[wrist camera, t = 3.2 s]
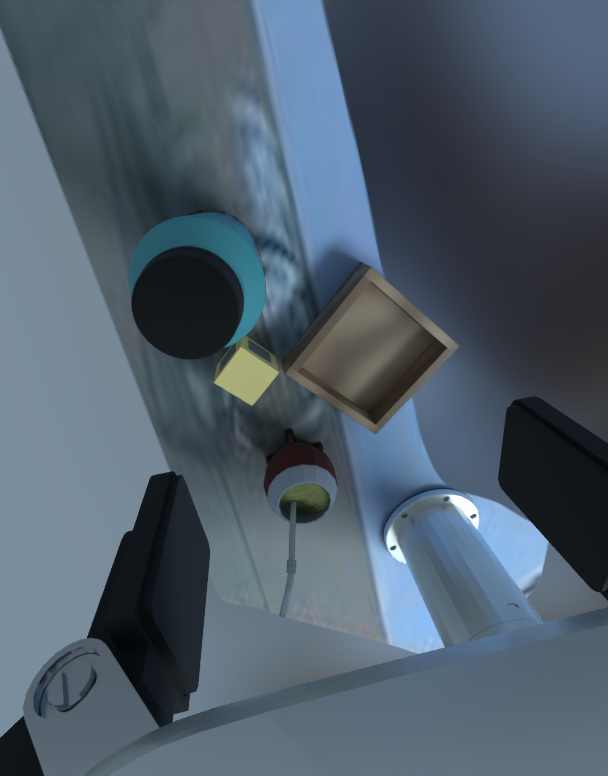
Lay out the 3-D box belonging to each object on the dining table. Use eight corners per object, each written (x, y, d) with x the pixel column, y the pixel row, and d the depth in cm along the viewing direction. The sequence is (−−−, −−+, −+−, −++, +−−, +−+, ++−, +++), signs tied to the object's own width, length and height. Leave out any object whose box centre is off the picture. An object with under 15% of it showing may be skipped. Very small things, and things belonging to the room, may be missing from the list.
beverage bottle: (199, 302, 33) (148, 420, 15) (163, 224, 30) (44, 255, 12) (269, 276, 33) (300, 364, 15) (240, 195, 30) (235, 184, 12)
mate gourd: (319, 417, 40) (357, 525, 26) (332, 474, 43) (370, 594, 30) (250, 435, 40) (253, 553, 26) (269, 490, 43) (280, 619, 30)
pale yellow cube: (276, 355, 36) (279, 372, 33) (251, 386, 37) (252, 406, 34) (240, 331, 35) (240, 346, 31) (216, 364, 36) (213, 382, 32)
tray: (443, 336, 38) (459, 346, 35) (367, 419, 41) (375, 434, 38) (360, 262, 33) (371, 267, 31) (281, 361, 36) (284, 374, 34)
